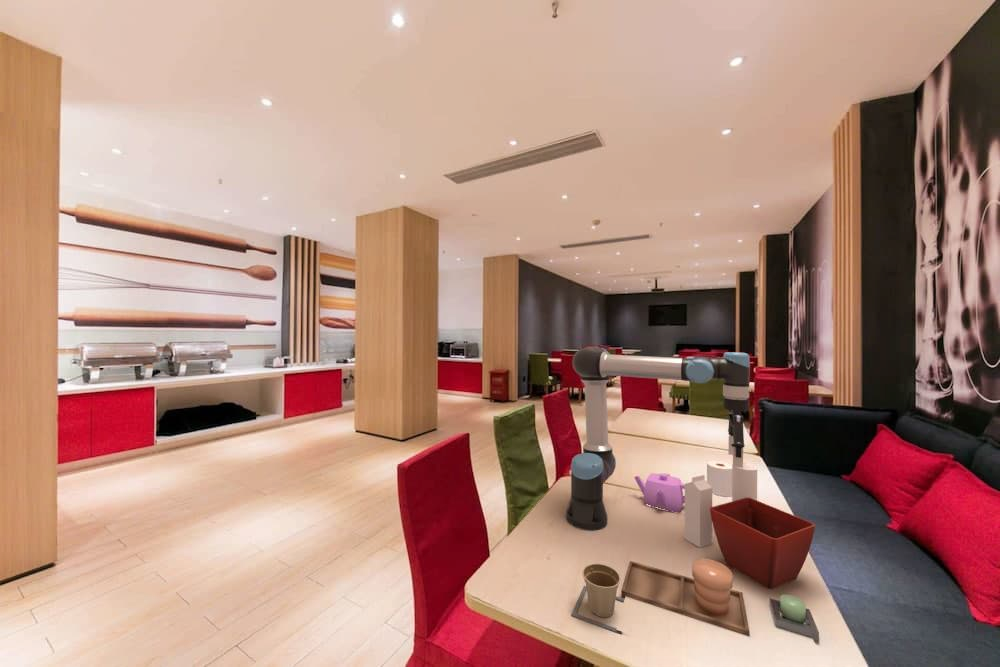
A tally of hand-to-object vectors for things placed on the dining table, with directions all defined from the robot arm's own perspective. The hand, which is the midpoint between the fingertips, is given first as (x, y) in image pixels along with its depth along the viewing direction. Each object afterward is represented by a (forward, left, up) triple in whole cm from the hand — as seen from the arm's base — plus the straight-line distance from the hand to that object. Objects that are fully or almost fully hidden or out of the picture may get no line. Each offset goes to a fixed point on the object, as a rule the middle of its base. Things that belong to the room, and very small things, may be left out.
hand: (735, 460), depth 125 cm
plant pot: (+5, -16, -28) cm, 32 cm away
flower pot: (-33, -53, -28) cm, 68 cm away
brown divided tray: (-15, -39, -27) cm, 50 cm away
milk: (-11, -6, -28) cm, 30 cm away
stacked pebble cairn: (-8, -39, -27) cm, 48 cm away
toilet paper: (-2, +44, -28) cm, 52 cm away
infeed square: (-33, -53, -27) cm, 68 cm away
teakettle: (-24, +18, -28) cm, 41 cm away
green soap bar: (+9, -36, -25) cm, 45 cm away
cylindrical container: (+3, +3, -28) cm, 28 cm away
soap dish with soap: (+9, -36, -27) cm, 46 cm away
